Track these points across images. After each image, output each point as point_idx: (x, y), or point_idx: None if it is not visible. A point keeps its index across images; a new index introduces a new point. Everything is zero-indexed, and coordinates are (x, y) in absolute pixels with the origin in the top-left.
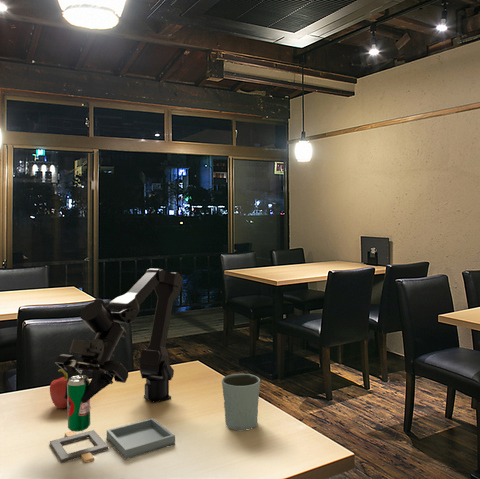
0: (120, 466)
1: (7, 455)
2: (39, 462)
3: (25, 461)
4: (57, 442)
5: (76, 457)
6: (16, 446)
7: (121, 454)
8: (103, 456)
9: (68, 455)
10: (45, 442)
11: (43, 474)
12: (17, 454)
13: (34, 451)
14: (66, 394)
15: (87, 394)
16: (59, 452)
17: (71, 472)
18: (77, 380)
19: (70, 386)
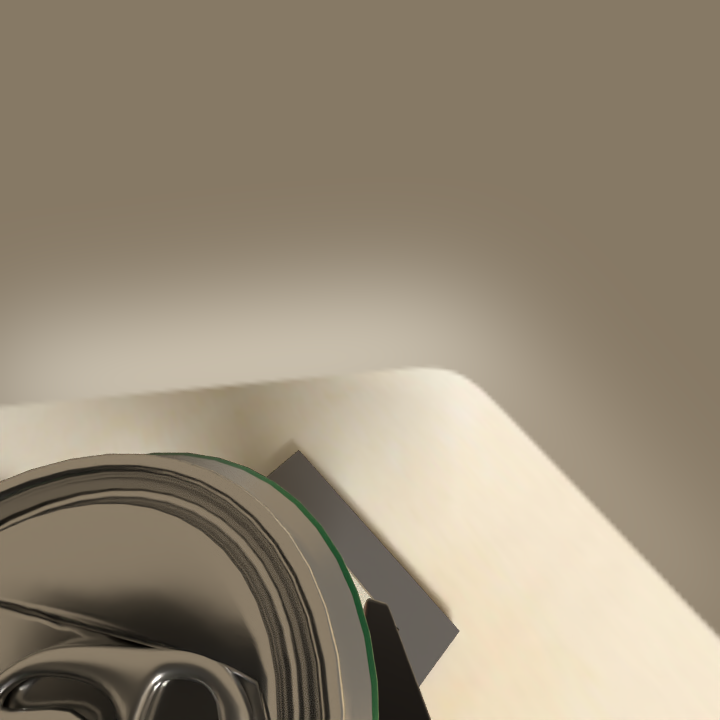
0: (29, 460)
1: (561, 486)
2: (392, 449)
3: (452, 450)
4: (407, 621)
5: None
6: (600, 578)
7: None
8: None
9: (281, 486)
10: (494, 655)
11: (327, 376)
12: (529, 500)
13: (477, 539)
14: (375, 631)
15: None
16: (336, 507)
17: (230, 397)
18: (40, 515)
19: (233, 466)
